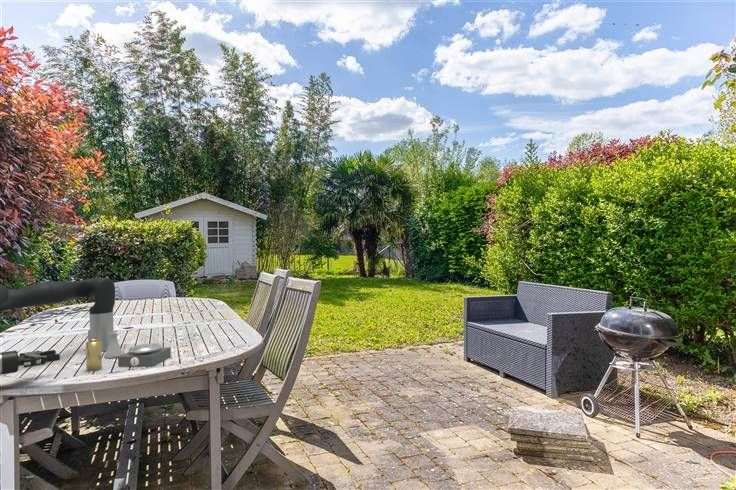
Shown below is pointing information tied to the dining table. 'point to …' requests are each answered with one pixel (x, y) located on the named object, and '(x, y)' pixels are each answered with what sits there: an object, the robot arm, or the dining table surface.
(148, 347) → the scale pan
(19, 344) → the dining table surface
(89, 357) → the brass weight
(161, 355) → the base
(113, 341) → the flask
